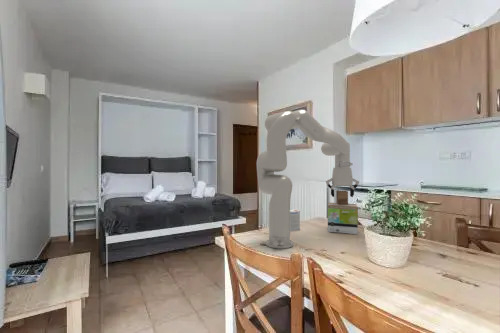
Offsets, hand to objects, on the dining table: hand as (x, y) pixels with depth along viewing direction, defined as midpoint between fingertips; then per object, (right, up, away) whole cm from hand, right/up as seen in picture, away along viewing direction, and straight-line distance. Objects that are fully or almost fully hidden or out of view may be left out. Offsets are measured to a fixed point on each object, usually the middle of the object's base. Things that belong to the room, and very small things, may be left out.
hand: (342, 196), depth 142 cm
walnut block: (0, -4, 0) cm, 4 cm away
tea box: (0, -19, 0) cm, 19 cm away
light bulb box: (-27, -19, +6) cm, 34 cm away
